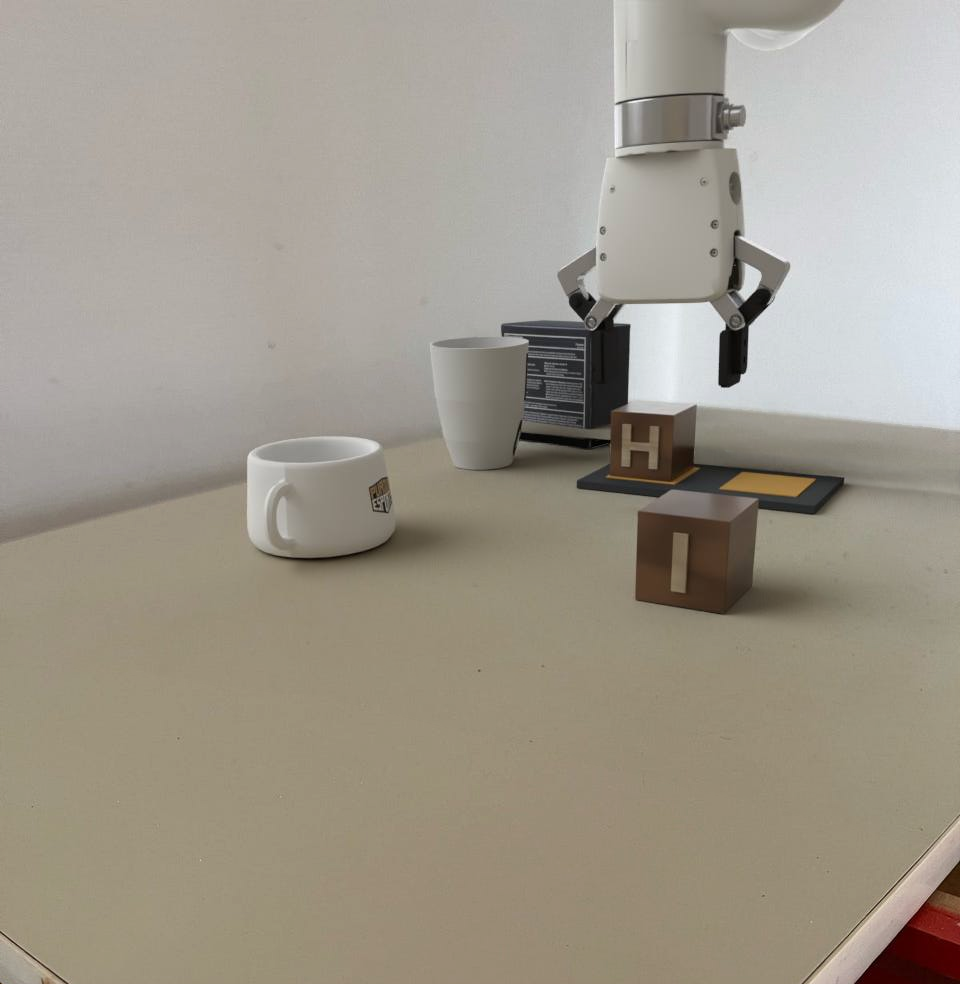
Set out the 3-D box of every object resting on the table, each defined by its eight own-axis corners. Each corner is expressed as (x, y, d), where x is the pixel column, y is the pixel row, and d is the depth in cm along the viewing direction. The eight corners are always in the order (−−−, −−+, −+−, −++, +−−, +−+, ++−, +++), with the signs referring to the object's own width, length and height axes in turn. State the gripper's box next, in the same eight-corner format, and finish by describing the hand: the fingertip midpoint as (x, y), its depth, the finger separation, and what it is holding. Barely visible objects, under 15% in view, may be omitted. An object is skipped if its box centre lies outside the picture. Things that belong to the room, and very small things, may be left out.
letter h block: (693, 468, 81) (696, 404, 79) (669, 482, 77) (672, 415, 75) (634, 462, 83) (636, 400, 81) (608, 476, 79) (609, 411, 77)
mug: (291, 515, 74) (283, 432, 71) (417, 523, 71) (413, 436, 69) (201, 568, 63) (188, 471, 61) (345, 579, 60) (337, 479, 58)
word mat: (843, 485, 78) (844, 475, 77) (814, 514, 70) (815, 504, 70) (622, 463, 86) (622, 455, 86) (576, 488, 79) (576, 479, 79)
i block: (752, 585, 58) (759, 498, 56) (722, 615, 53) (729, 522, 52) (667, 573, 60) (671, 489, 58) (633, 601, 56) (635, 511, 54)
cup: (545, 467, 86) (544, 343, 82) (454, 478, 83) (449, 350, 79) (507, 449, 93) (505, 334, 89) (422, 459, 90) (416, 340, 86)
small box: (632, 439, 95) (635, 321, 91) (590, 451, 91) (592, 328, 87) (542, 427, 102) (542, 316, 98) (499, 438, 97) (497, 323, 93)
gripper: (810, 121, 70) (795, 378, 76) (579, 144, 78) (583, 374, 85) (779, 116, 64) (767, 395, 70) (533, 141, 72) (542, 388, 79)
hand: (666, 383), depth 78 cm, fingers open, 9 cm apart
